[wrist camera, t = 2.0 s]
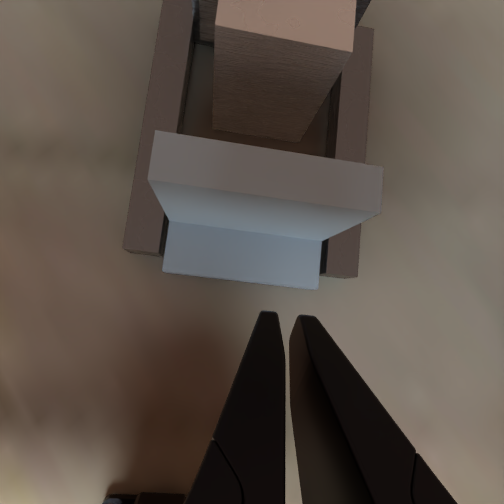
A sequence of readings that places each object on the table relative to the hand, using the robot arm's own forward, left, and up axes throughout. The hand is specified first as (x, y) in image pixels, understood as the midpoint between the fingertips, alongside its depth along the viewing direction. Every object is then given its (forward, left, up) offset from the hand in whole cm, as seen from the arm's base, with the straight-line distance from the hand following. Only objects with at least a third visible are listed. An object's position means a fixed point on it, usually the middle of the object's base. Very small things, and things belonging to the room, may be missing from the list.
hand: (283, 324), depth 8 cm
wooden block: (+14, 0, -14) cm, 20 cm away
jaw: (+4, 0, -13) cm, 14 cm away
